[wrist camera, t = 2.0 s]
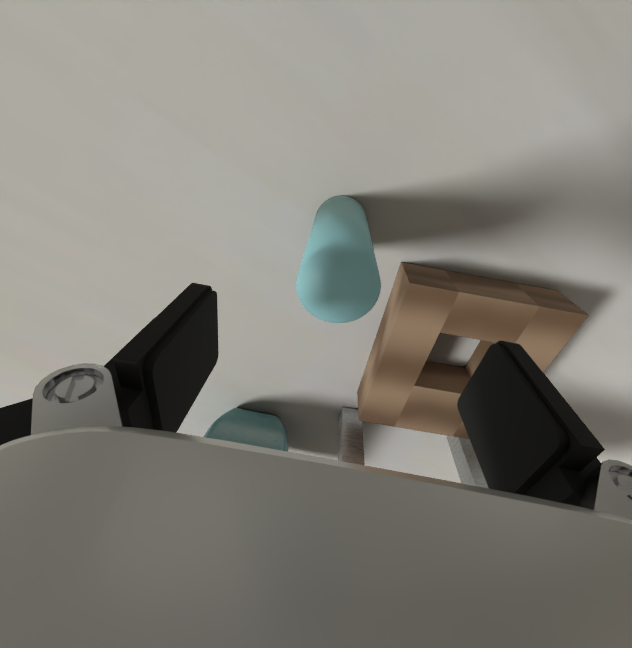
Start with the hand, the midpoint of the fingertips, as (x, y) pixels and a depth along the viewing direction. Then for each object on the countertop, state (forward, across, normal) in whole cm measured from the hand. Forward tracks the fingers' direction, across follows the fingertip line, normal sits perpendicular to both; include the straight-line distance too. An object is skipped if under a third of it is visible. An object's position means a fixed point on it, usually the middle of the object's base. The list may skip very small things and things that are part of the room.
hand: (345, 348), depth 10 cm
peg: (+13, +1, -1) cm, 13 cm away
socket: (+14, -10, +8) cm, 19 cm away
